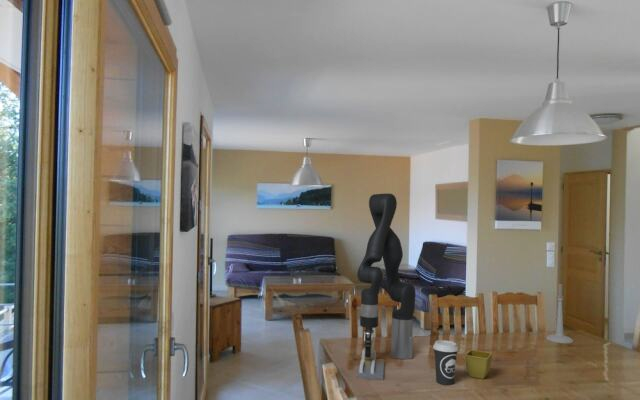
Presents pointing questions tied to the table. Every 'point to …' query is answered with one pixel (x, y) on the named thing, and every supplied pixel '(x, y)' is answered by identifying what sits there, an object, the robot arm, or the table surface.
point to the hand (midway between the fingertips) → (368, 354)
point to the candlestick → (559, 322)
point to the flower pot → (478, 363)
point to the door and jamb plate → (371, 367)
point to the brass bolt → (368, 359)
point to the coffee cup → (445, 361)
